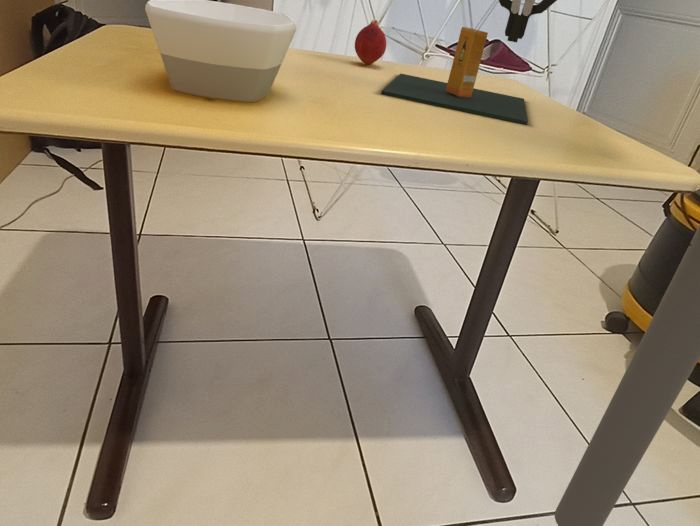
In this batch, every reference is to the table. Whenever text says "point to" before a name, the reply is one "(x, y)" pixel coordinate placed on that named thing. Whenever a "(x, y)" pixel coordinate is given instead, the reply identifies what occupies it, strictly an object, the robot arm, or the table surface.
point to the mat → (458, 98)
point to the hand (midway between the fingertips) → (511, 40)
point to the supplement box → (466, 62)
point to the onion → (370, 43)
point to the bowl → (220, 47)
